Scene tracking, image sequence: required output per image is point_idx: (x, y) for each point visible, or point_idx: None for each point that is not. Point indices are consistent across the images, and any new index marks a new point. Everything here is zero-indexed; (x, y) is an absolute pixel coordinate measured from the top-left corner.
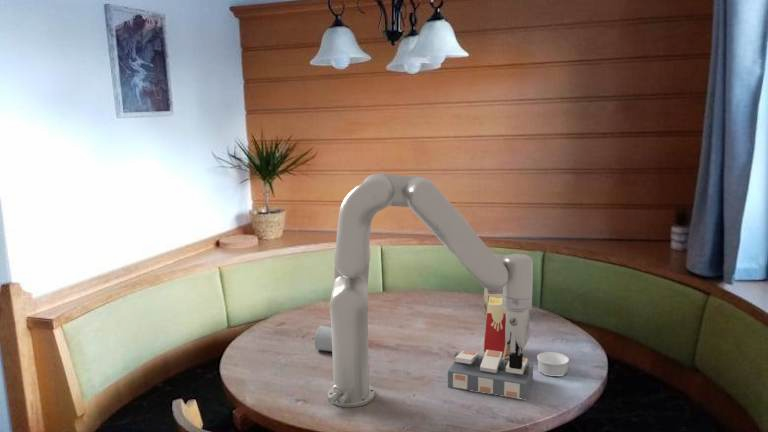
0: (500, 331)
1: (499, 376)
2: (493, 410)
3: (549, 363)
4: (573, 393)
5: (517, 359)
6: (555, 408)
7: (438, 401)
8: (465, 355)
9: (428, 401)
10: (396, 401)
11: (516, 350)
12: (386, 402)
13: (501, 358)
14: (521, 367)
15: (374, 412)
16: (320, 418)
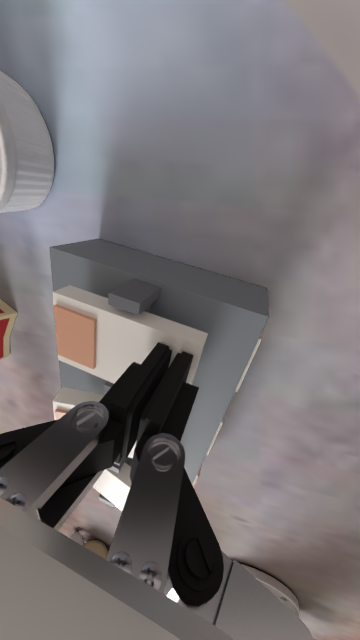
0: None
1: (198, 401)
2: (338, 400)
3: (3, 157)
4: (177, 25)
5: (185, 424)
6: (352, 148)
7: (271, 495)
8: (111, 490)
9: (271, 509)
10: (271, 549)
11: (219, 581)
12: (275, 561)
13: (12, 319)
14: (186, 355)
15: (320, 587)
16: (335, 637)
